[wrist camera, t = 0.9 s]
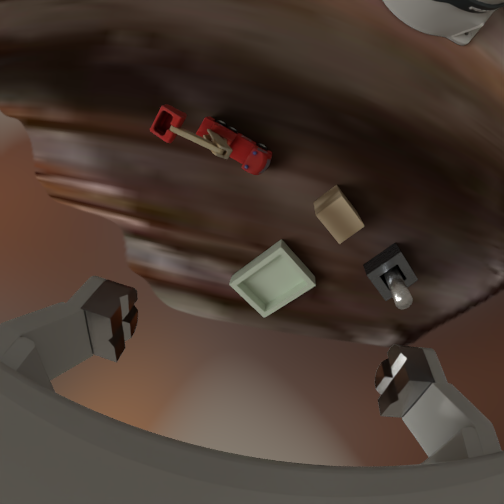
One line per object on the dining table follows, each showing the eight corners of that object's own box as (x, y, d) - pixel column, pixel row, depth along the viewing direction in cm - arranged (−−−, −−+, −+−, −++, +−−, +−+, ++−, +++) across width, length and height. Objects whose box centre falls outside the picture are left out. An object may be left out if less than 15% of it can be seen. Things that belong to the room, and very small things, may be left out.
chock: (336, 184, 40) (341, 195, 36) (357, 212, 42) (364, 226, 37) (313, 202, 42) (315, 215, 38) (335, 228, 43) (339, 244, 39)
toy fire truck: (263, 172, 41) (254, 193, 32) (176, 123, 39) (145, 131, 31) (276, 152, 39) (271, 167, 31) (187, 101, 37) (158, 104, 29)
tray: (281, 239, 45) (280, 247, 43) (314, 276, 47) (315, 285, 45) (232, 275, 49) (229, 284, 47) (265, 308, 51) (264, 317, 49)
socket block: (395, 242, 43) (400, 252, 40) (412, 269, 45) (418, 279, 42) (363, 264, 45) (366, 275, 43) (381, 290, 47) (385, 301, 44)
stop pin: (391, 257, 44) (408, 291, 36) (398, 268, 45) (415, 302, 37) (378, 266, 45) (392, 301, 37) (385, 276, 46) (400, 312, 38)
